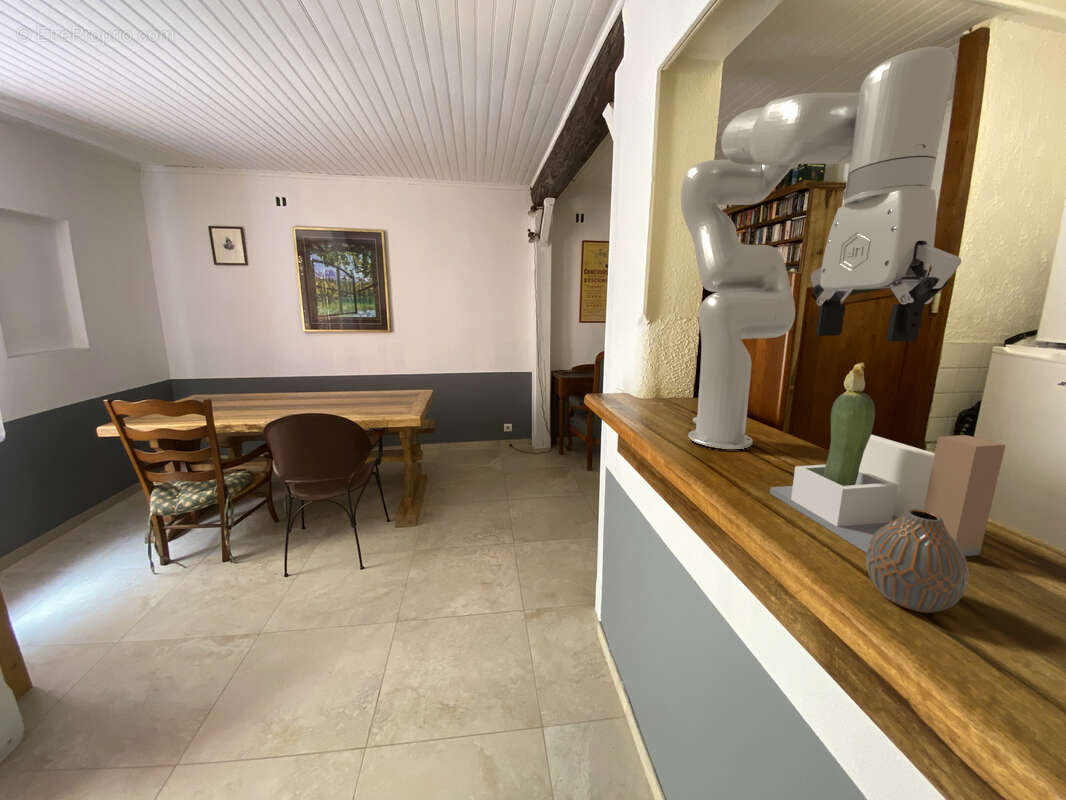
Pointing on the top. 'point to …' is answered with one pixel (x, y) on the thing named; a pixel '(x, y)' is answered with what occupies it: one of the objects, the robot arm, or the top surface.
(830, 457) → the vegetable
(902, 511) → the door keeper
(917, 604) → the vase
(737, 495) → the top surface
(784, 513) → the top surface
